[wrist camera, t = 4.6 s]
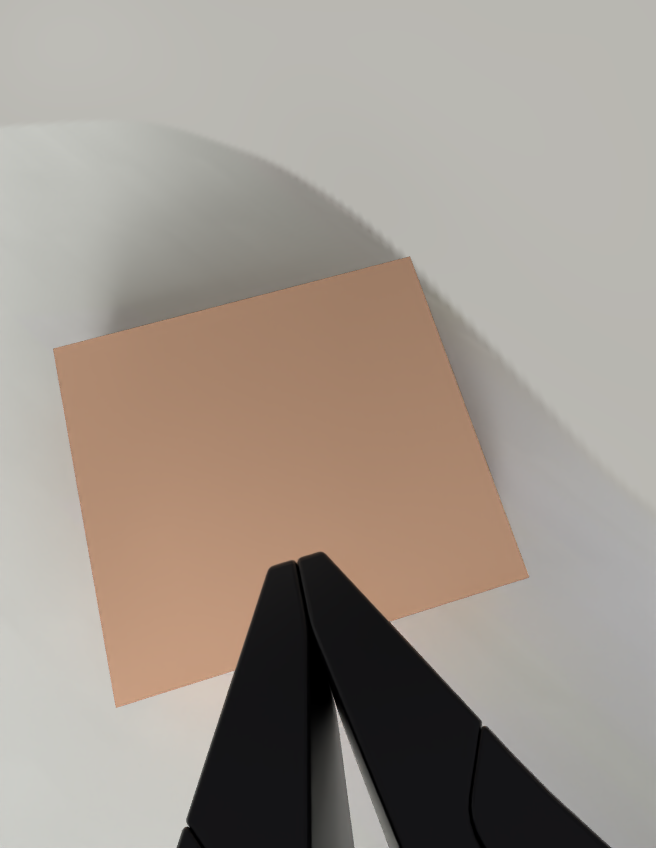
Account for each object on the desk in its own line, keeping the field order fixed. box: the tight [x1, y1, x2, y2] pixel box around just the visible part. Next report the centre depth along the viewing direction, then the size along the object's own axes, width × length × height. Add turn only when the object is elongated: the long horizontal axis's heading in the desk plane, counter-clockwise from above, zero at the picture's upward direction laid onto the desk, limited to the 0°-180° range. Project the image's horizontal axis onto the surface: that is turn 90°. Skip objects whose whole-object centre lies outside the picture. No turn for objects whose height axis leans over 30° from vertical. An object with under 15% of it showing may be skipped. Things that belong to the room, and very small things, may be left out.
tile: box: [53, 257, 529, 708], centre depth 14 cm, size 3×10×9 cm
